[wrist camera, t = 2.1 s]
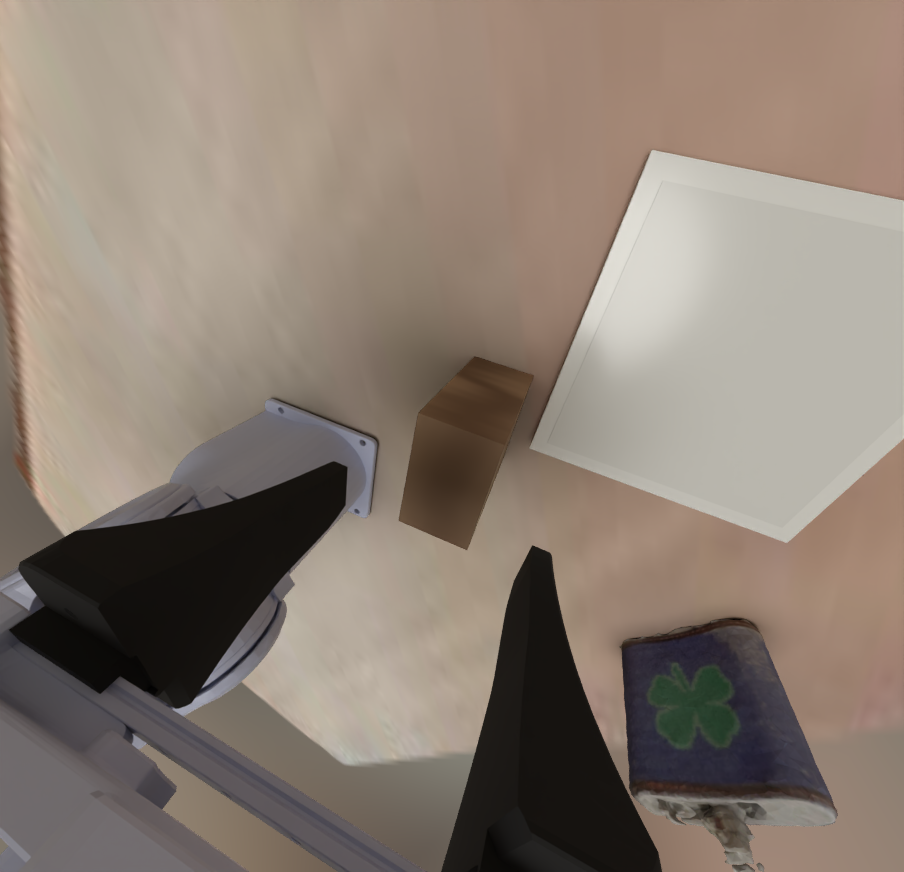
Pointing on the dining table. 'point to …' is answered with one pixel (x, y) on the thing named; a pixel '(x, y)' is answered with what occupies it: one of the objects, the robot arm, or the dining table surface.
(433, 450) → the walnut block
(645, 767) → the flask
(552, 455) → the stone board
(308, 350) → the dining table surface
